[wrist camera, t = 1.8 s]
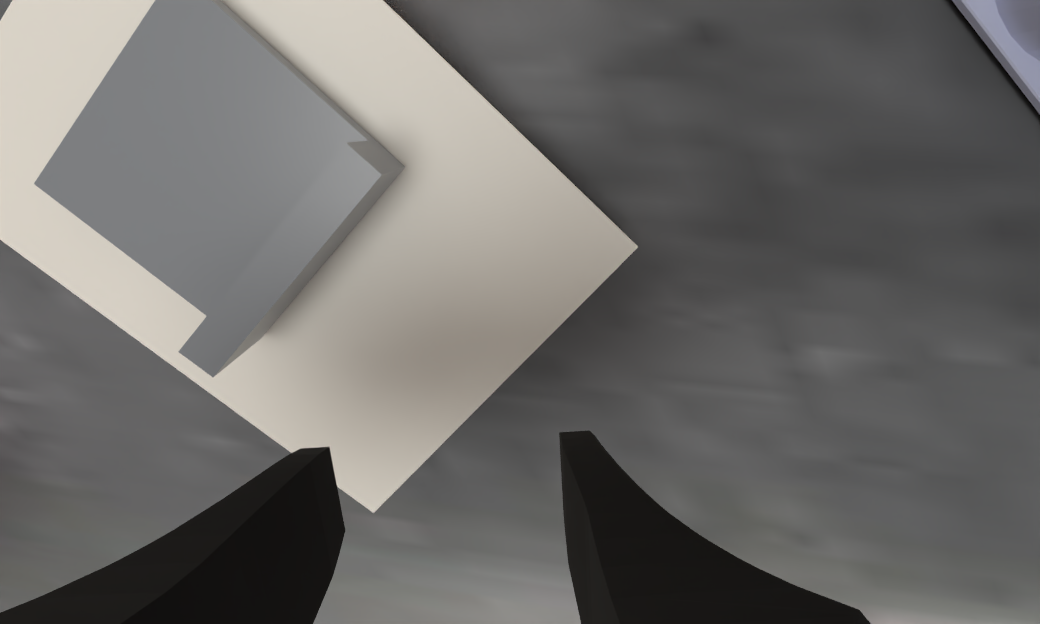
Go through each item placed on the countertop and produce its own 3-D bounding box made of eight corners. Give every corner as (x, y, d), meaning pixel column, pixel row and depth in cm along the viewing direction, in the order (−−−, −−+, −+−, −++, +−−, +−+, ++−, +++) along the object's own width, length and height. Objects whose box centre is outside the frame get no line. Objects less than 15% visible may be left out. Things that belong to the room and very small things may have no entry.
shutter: (405, 166, 16) (381, 174, 13) (261, 338, 17) (213, 377, 14) (194, -24, 14) (119, -59, 11) (57, 181, 16) (-38, 192, 13)
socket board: (623, 231, 19) (638, 247, 16) (389, 470, 21) (373, 512, 19) (204, -173, 16) (148, -227, 13) (-11, 167, 18) (-91, 172, 16)
